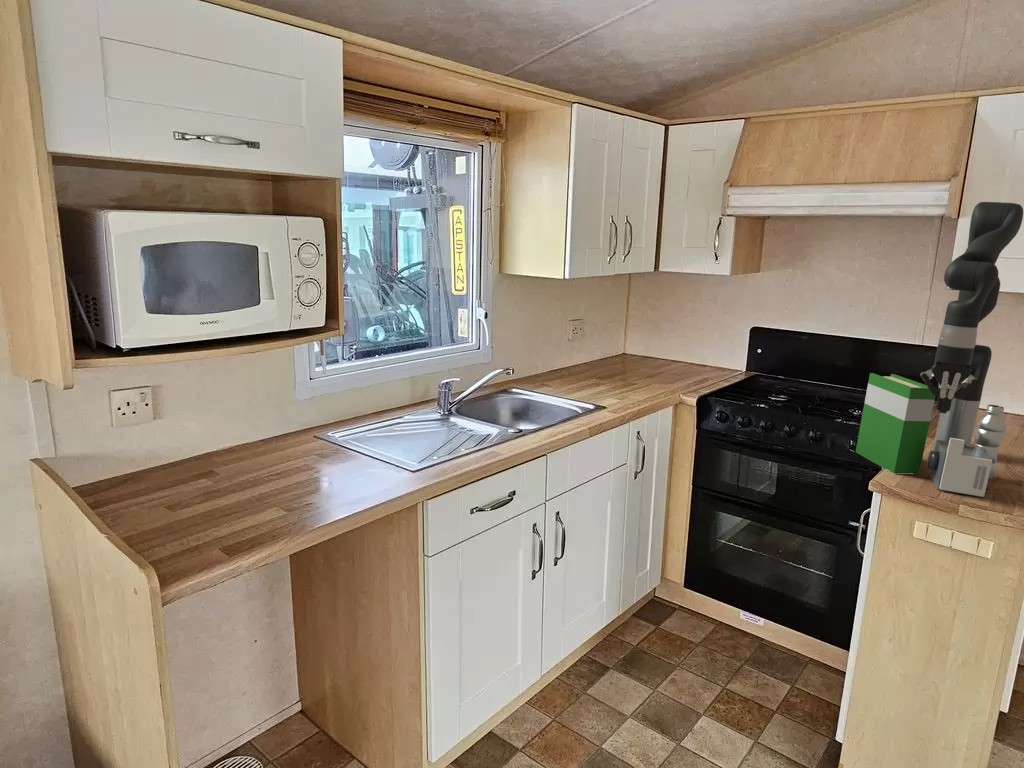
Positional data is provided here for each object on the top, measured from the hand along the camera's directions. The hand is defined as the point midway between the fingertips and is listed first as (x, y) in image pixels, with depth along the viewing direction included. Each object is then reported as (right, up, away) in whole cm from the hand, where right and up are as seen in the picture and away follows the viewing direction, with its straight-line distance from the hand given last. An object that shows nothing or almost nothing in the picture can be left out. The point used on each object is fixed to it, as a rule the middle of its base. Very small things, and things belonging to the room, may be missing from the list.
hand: (941, 412), depth 171 cm
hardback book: (-1, -15, +24) cm, 28 cm away
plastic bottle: (+20, -18, +16) cm, 32 cm away
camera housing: (+9, -19, +8) cm, 23 cm away
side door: (+6, -20, +2) cm, 21 cm away
